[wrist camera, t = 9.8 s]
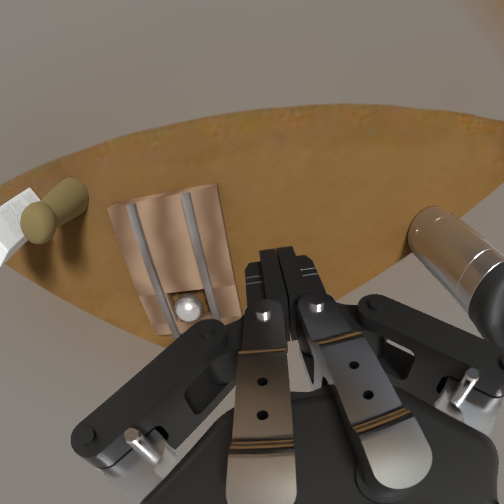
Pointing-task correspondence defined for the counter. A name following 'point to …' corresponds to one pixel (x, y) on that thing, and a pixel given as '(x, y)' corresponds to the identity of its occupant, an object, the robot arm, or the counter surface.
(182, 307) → the steel ball
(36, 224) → the olive knob stopper
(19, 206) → the skincare box
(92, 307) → the counter surface
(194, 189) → the walnut channel
